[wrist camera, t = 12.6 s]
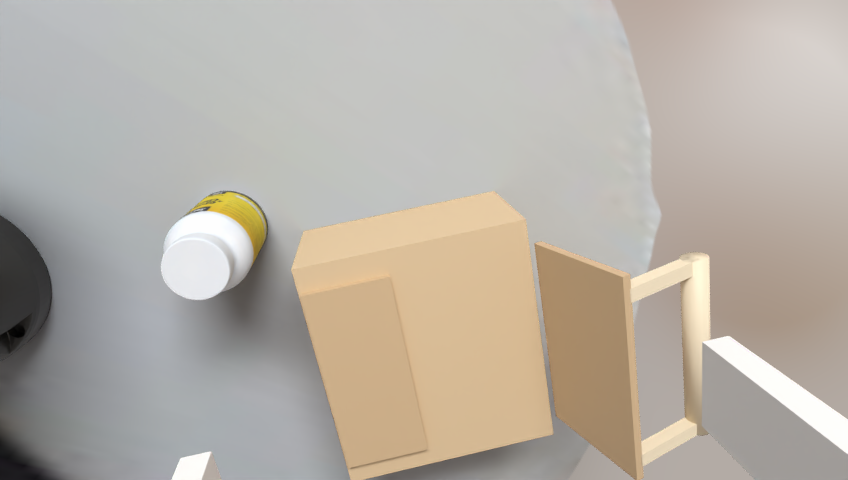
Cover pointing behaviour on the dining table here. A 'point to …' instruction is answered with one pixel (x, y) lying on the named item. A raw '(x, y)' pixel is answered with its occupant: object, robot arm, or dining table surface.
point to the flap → (617, 349)
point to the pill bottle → (213, 245)
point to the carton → (426, 332)
